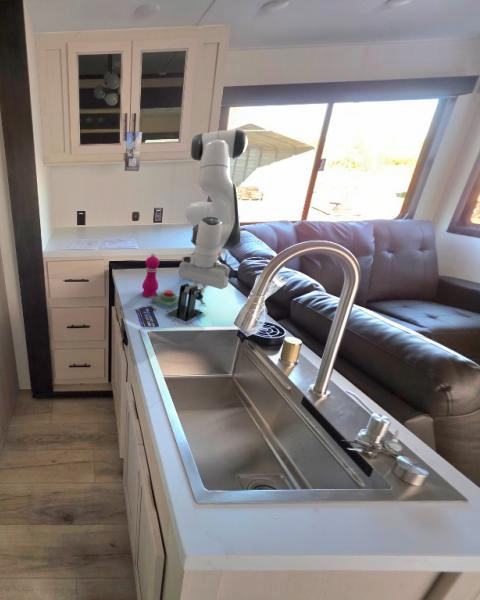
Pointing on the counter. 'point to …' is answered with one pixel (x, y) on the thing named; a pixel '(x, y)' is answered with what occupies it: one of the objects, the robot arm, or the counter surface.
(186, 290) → the lever
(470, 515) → the counter surface
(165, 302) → the button box
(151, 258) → the pepper mill
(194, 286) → the soupspoon
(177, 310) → the bracket
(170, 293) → the button
